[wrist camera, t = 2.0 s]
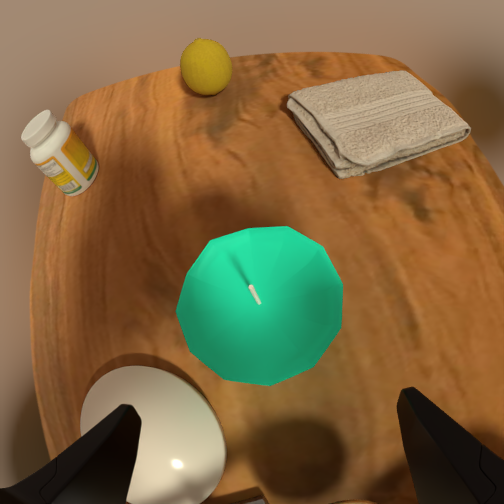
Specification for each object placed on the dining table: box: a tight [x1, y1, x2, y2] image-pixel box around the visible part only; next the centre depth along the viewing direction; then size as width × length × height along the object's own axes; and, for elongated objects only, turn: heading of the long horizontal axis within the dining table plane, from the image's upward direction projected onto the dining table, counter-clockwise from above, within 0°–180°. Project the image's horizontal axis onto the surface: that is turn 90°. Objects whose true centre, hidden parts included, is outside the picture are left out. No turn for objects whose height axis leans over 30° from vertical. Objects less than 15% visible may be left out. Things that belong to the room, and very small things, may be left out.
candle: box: [176, 226, 343, 386], centre depth 14 cm, size 6×6×12 cm
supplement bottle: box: [21, 110, 99, 196], centre depth 25 cm, size 5×5×10 cm
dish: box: [80, 366, 227, 504], centre depth 17 cm, size 12×12×1 cm
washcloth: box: [287, 71, 471, 179], centre depth 25 cm, size 12×18×3 cm, turn 113°
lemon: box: [180, 38, 232, 95], centre depth 27 cm, size 6×6×8 cm
